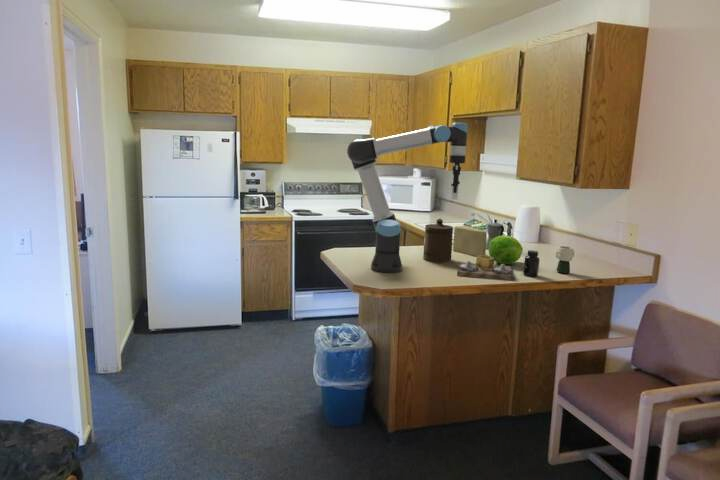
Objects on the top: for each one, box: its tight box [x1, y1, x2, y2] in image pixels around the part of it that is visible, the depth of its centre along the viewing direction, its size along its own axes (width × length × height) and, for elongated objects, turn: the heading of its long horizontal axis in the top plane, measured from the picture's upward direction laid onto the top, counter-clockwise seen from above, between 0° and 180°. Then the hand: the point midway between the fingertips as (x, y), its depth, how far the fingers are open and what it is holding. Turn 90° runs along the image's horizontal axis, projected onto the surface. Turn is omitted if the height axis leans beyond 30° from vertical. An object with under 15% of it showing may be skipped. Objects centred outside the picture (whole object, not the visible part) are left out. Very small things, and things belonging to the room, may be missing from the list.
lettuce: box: [487, 234, 524, 265], centre depth 271 cm, size 17×20×15 cm
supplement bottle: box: [522, 249, 540, 278], centre depth 248 cm, size 7×7×12 cm
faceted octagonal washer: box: [475, 254, 495, 269], centre depth 253 cm, size 8×8×5 cm
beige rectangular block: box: [452, 225, 488, 258], centre depth 290 cm, size 22×10×15 cm, turn 28°
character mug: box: [555, 245, 575, 274], centre depth 256 cm, size 11×7×13 cm, turn 109°
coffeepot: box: [486, 219, 505, 251], centre depth 305 cm, size 15×9×18 cm, turn 19°
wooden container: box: [422, 218, 454, 263], centre depth 273 cm, size 15×15×22 cm
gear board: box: [456, 260, 515, 281], centre depth 250 cm, size 26×20×6 cm
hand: (454, 198), depth 256 cm, fingers open, 13 cm apart
